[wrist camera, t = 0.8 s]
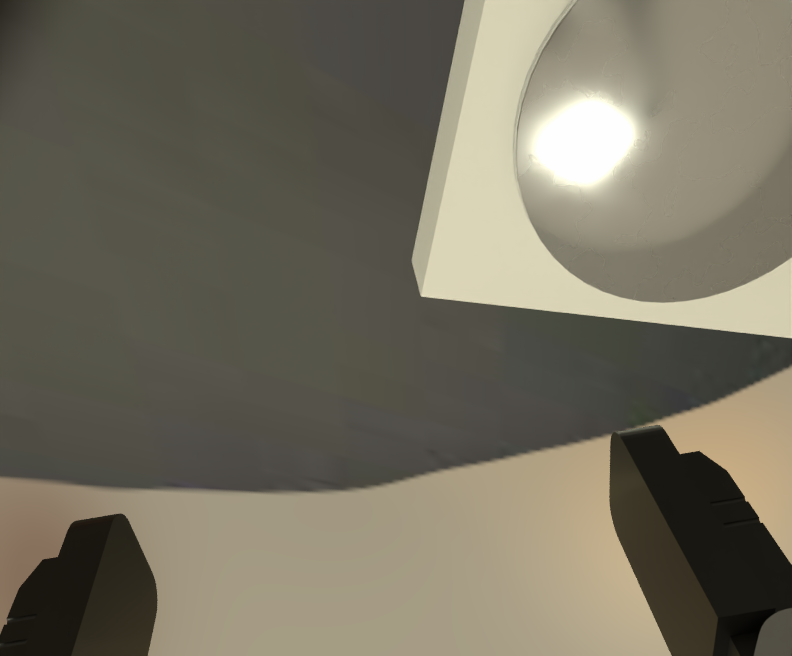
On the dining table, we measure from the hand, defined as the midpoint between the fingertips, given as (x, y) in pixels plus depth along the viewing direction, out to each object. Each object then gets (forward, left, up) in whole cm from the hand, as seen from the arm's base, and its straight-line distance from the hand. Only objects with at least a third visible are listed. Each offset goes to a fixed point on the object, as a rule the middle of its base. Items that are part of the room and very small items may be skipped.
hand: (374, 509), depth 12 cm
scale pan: (-2, +15, -21) cm, 26 cm away
